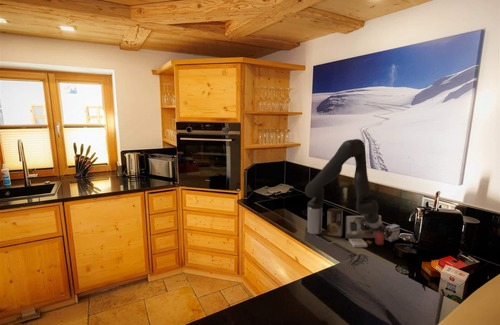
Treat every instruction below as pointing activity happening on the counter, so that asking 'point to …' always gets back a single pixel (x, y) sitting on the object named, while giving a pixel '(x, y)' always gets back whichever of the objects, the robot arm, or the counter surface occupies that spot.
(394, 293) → the counter surface
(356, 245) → the lockout socket
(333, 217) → the coffee box
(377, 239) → the cap
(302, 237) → the counter surface
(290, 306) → the counter surface
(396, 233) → the medicine box
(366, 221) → the robot arm
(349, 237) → the breaker panel
